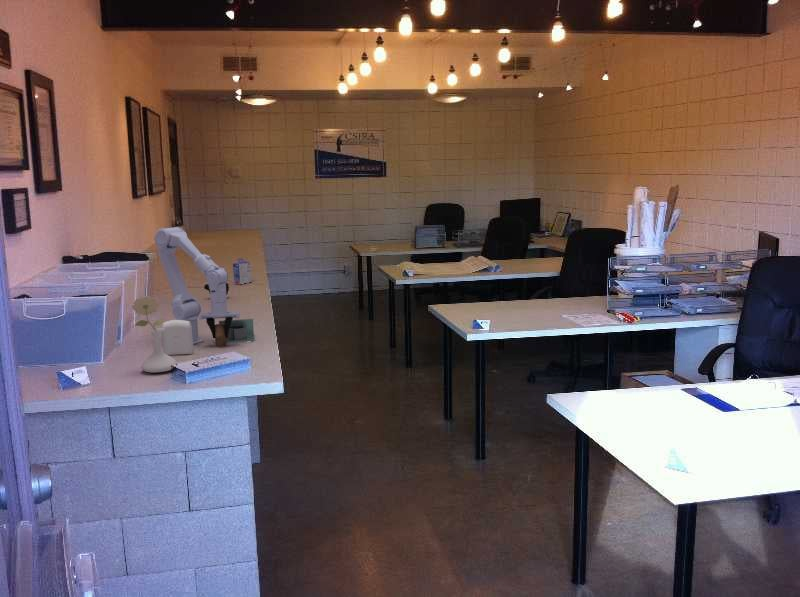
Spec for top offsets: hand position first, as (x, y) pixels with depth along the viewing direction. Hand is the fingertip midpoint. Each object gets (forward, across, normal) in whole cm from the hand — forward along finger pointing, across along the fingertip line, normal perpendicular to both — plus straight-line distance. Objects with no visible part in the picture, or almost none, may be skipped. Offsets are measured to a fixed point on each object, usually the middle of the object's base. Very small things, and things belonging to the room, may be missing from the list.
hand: (220, 337), depth 272 cm
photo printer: (+3, +14, +10) cm, 17 cm away
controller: (+3, +14, -101) cm, 102 cm away
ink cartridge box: (+3, +6, -152) cm, 152 cm away
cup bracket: (+3, -5, -9) cm, 11 cm away
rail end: (+3, 0, 0) cm, 3 cm away
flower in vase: (+3, +17, +32) cm, 36 cm away
